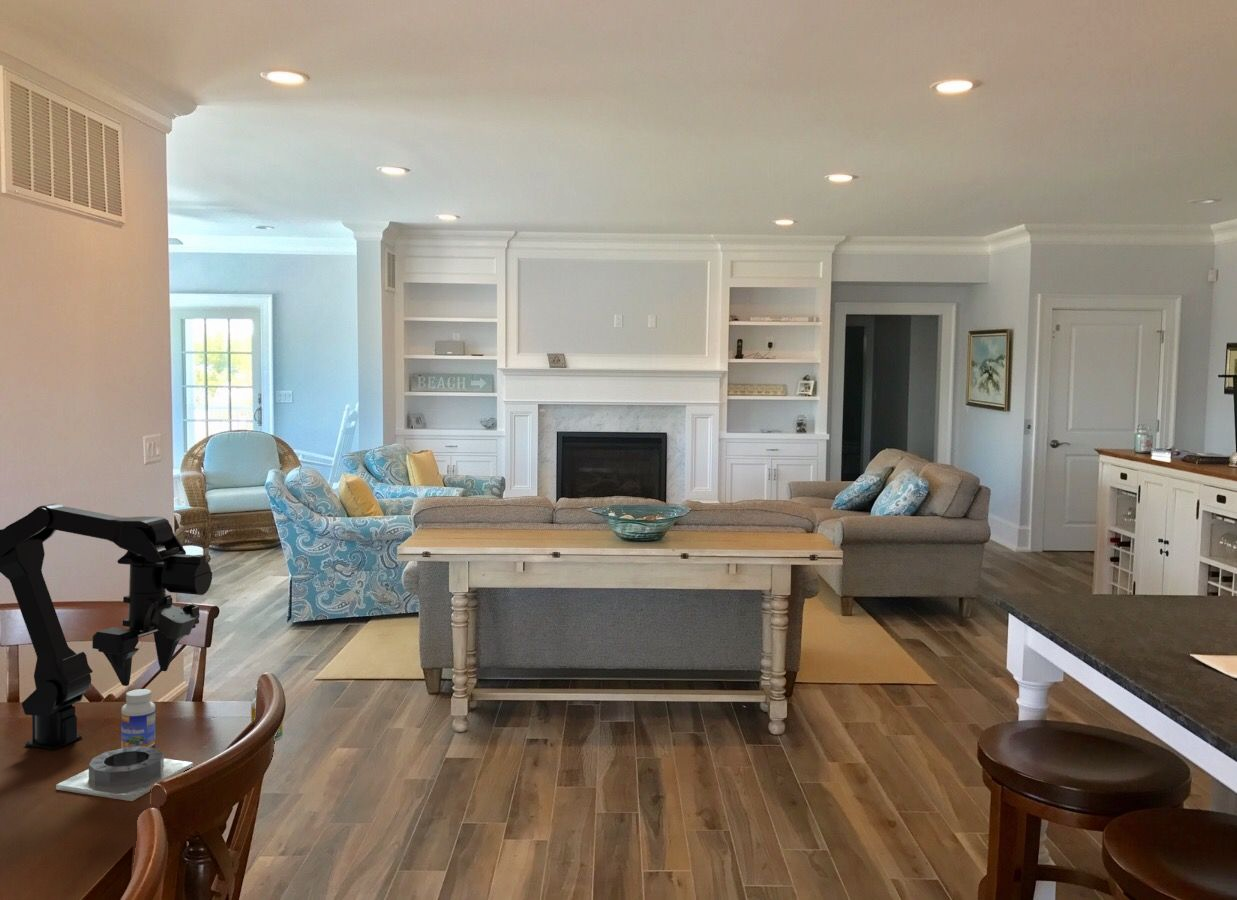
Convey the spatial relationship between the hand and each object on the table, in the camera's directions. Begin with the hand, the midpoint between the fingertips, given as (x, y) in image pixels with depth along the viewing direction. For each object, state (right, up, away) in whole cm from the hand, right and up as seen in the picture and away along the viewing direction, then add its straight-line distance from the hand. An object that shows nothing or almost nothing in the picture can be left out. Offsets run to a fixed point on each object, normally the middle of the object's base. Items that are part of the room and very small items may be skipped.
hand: (145, 678), depth 168 cm
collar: (+3, -14, -12) cm, 18 cm away
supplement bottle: (+19, -13, +7) cm, 24 cm away
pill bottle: (-2, -13, +2) cm, 13 cm away
